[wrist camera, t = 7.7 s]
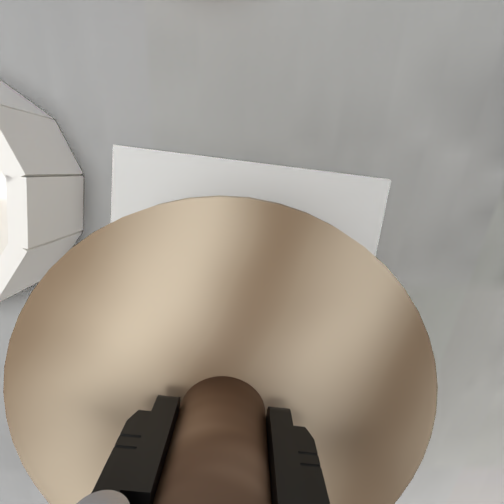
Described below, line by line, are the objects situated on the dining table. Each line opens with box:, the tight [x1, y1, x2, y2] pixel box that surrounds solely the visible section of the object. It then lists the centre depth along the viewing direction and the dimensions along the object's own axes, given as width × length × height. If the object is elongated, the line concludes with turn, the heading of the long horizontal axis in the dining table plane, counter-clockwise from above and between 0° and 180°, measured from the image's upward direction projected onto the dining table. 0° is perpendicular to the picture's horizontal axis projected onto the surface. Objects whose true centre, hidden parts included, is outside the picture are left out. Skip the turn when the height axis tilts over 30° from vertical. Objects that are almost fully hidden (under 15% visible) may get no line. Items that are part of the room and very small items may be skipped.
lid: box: [3, 195, 438, 504], centre depth 10 cm, size 15×15×6 cm
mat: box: [111, 145, 392, 257], centre depth 25 cm, size 18×18×1 cm
